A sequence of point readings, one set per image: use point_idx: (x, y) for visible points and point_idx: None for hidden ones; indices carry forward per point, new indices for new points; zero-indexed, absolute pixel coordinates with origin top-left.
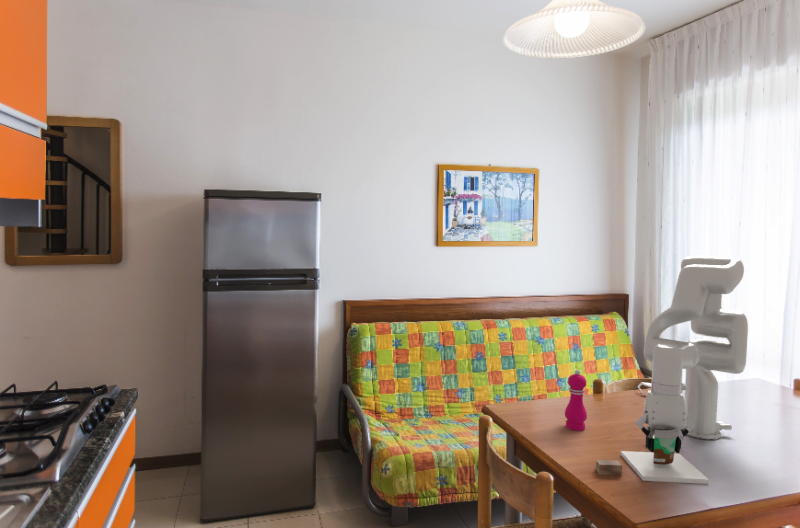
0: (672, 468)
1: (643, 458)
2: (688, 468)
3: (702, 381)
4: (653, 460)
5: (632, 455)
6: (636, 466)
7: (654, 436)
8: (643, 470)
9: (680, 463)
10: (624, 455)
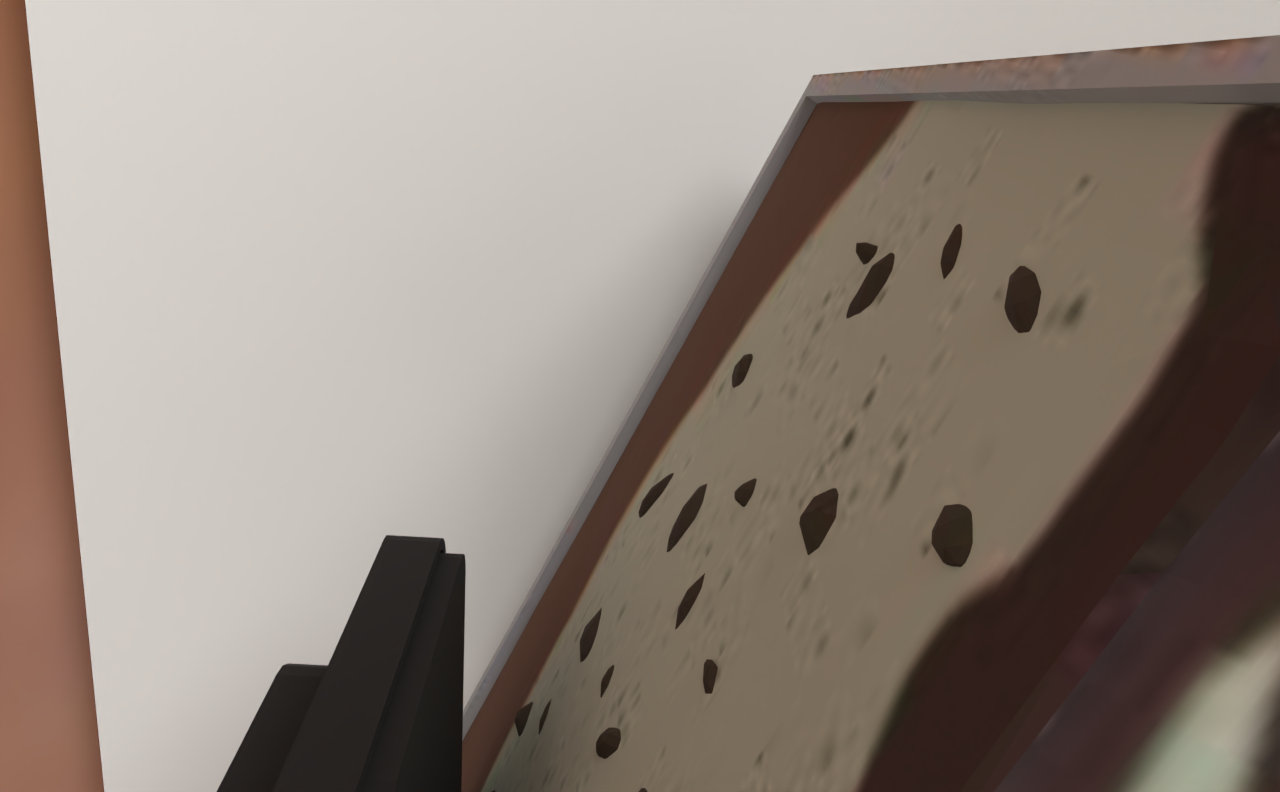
0: None
1: (450, 250)
2: None
3: None
4: (485, 678)
5: (237, 84)
6: (132, 635)
7: (926, 91)
8: (213, 787)
9: None
10: (38, 65)
